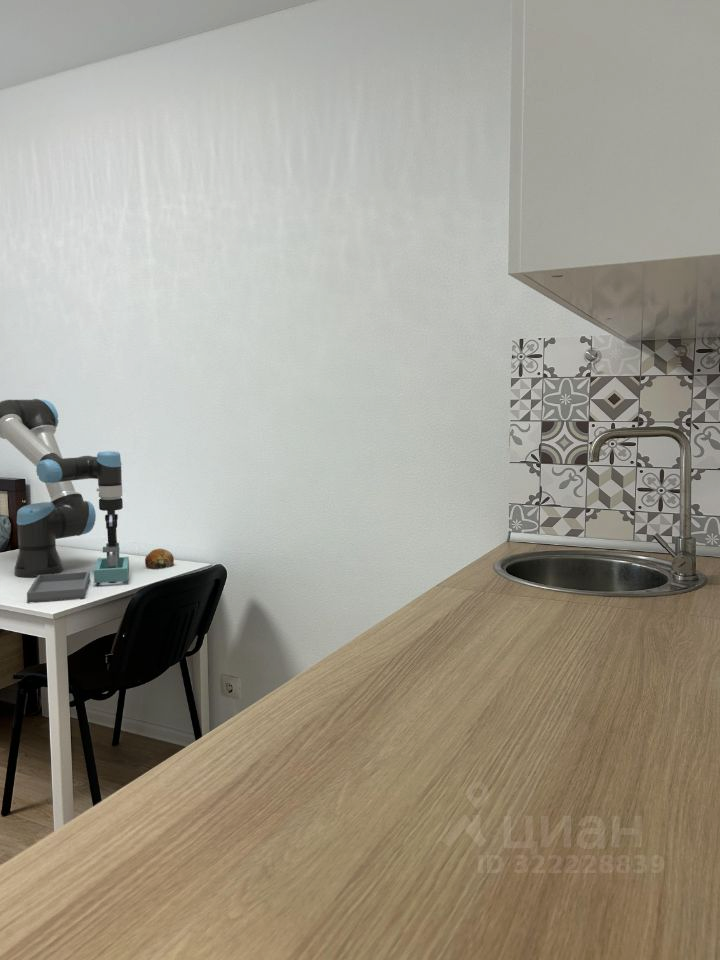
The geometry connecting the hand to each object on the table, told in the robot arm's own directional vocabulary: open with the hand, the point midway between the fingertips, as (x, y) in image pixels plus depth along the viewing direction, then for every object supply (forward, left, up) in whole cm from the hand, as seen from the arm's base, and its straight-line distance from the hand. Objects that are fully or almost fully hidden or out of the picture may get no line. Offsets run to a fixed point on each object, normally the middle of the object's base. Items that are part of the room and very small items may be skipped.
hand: (113, 566), depth 260 cm
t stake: (+12, 0, -2) cm, 13 cm away
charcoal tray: (+20, -15, -2) cm, 25 cm away
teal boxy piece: (+8, 0, -1) cm, 8 cm away
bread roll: (-8, +15, -3) cm, 17 cm away
